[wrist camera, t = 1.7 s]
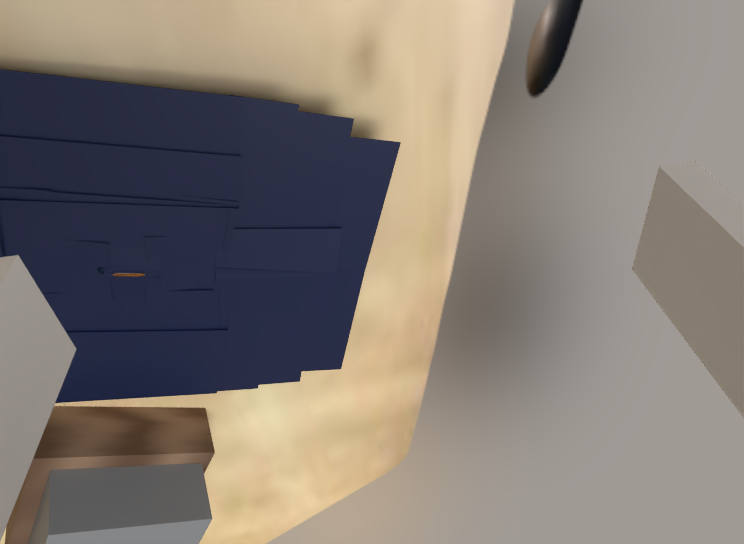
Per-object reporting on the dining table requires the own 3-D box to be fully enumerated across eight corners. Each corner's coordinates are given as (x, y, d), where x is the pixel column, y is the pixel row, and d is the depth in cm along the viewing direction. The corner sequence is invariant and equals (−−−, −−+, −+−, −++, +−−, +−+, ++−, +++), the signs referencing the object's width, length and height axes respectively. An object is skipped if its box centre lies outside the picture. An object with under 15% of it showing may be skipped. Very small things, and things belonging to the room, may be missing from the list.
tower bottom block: (8, 505, 48) (3, 562, 45) (35, 403, 43) (32, 458, 39) (163, 494, 56) (169, 542, 52) (204, 405, 50) (214, 452, 46)
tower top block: (24, 555, 45) (20, 620, 42) (50, 469, 40) (48, 535, 37) (164, 539, 52) (171, 594, 48) (201, 463, 47) (212, 518, 43)
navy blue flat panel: (330, 360, 50) (339, 392, 48) (-78, 378, 40) (-96, 420, 38) (395, 96, 36) (412, 119, 34) (-206, 21, 26) (-250, 46, 24)
